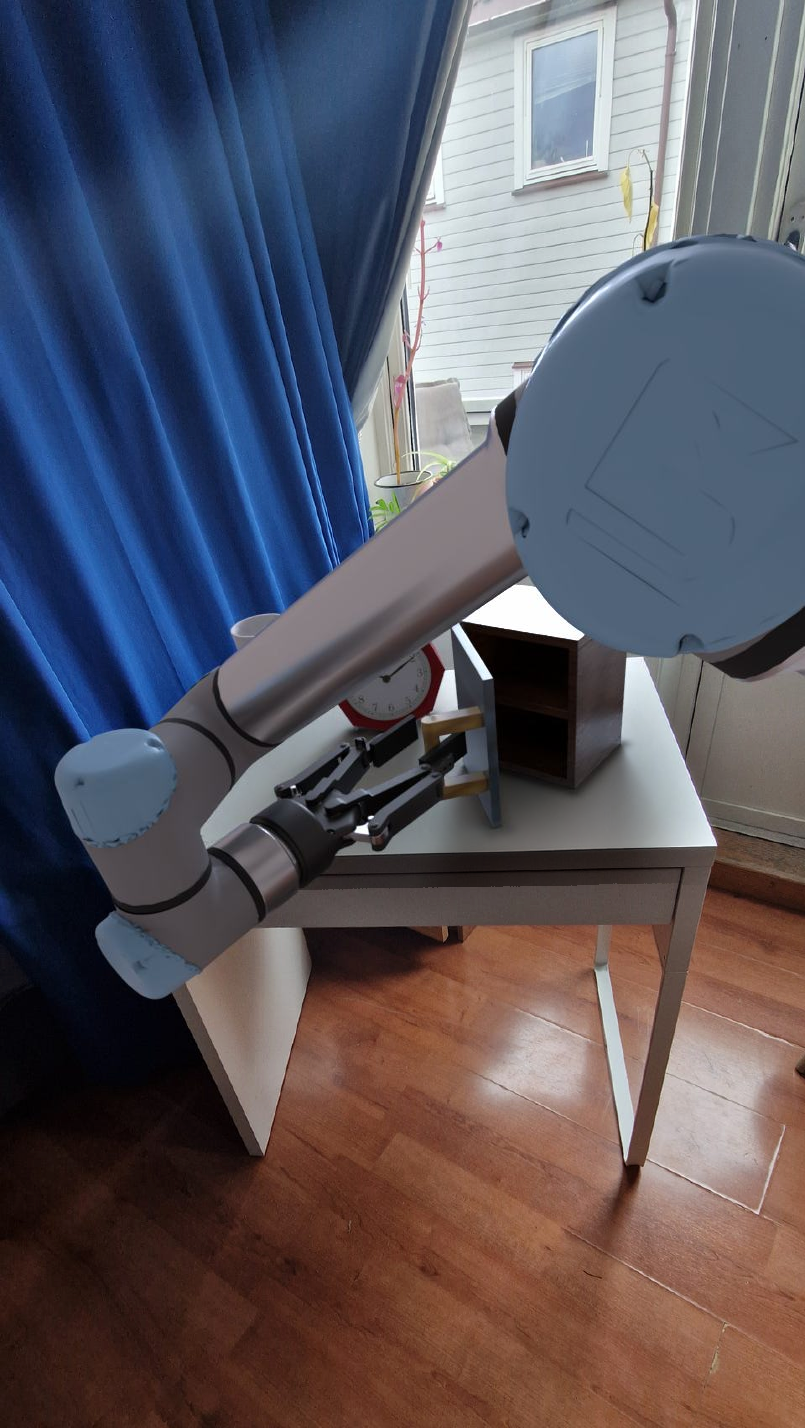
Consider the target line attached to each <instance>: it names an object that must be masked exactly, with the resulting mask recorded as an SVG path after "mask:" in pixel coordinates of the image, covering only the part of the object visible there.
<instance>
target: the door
mask: <svg viewBox="0 0 805 1428" xmlns="http://www.w3.org/2000/svg"><path fill="white" fill-rule="evenodd" d="M449 630H450V640H451V649H452V650H451V651H452V661H453V672H454V682H455V693H456V703H457V709H455V710H452V711H451V710H449V711H446V712H440V713H436V714H432V715H431V714H430V716H426V715H425V716H423V717H422V718H420V725H421V733H422V740H423V747H424V754H426V753H427V752H428V751H430V750H431V749H432V748H434V747H435V746H436V745H438V744H439V743H440V742H441V738H440V737H443V736H449V735H451V734H453V733H458V732H463V731H465V733H466V744H467V754H466V755H465V756H463V757H462V758H461V759H462V763H463V765H464V767H465V769H466V771H467V773H465V774H460V775H456V776H451V777H450V776H449V777H446V778H445V776H443V777H442V781H443V790H444V798H443V799H442V800H441V801H440V802H442V801H448V800H451V799H457V798H461V797H466V796H471V795H476V794H477V796H478V799H479V801H480V803H481V805H482V807H483V810H484V812H485V814H486V816H487V819H488V820H489V823H490V826H491V827H492V828H499V827H502V825H503V824H502V807H501V806H502V805H501V789H500V771H499V770H500V769H499V767H498V752H497V735H496V718H495V700H494V683H493V677H492V676H491V674H490V673H489V671H488V669H487V668H486V666H485V665H484V663H483V661H482V660H481V658H480V657H479V655H478V653H477V652H476V650H475V649H474V647H473V645H472V644H471V642H470V641H469V639H468V637H467V636H466V634H465V633H464V631H463V629H462V628H461V626H460V625H459V623H458V624H456V625H455V626H453V627H452V628H450V629H449Z"/></svg>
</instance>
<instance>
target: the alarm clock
mask: <svg viewBox="0 0 805 1428" xmlns="http://www.w3.org/2000/svg"><path fill="white" fill-rule="evenodd" d="M445 672H446V668H445V665H444V663H443V661H442V659H441V657H440V654H439V652H438V650H437V649H436V647H435V645H434V643H433V641H431V642H430V643H428V644H427V645H425V646H424V647H422V648H421V649H419V650H418V651H416V652H415V653H413V654H412V655H411V656H409V657H408V658H406V659H405V660H403V661H402V662H400V663H399V664H397V665H396V666H394V667H393V668H391V669H390V670H388V671H387V672H385V673H384V674H382V675H381V676H380V677H378V678H377V679H375V680H374V681H372V682H371V683H369V684H368V685H366V686H365V687H363V688H362V689H360V690H359V691H357V692H356V693H354V694H353V695H351V696H350V697H349V698H347V699H346V700H344V701H343V702H341V703H340V704H338V705H337V706H338V707H339V708H340V710H341V712H342V713H343V714H344V716H345V717H346V718H347V720H348V721H349V722H350V724H351V725H352V726H353V729H354V731H355V730H356V731H359V729H360V728H364V729H370V730H376V731H379V732H386V731H387V730H389V729H390V728H392V727H393V726H394V725H396V724H397V723H399V722H400V721H402V720H403V719H404V718H406V717H407V716H409V715H413V716H416V722H417V721H418V720H421V719H422V718H423V717H425V716H431V712H433V711H434V709H435V708H434V707H435V705H436V702H437V698H438V695H439V692H440V688H441V686H442V682H443V678H444V676H445Z"/></svg>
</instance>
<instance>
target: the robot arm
mask: <svg viewBox="0 0 805 1428" xmlns="http://www.w3.org/2000/svg"><path fill="white" fill-rule="evenodd" d="M527 577H528V578H529V579H530V581H531V582H532V584H533V587H536V589H537V590H538V592H539V593H540V594H541V596H542V597H543V598H544V599H545V601H546V602H547V603H548V604H549V605H550V607H551V608H552V609H553V610H554V611H555V612H556V613H557V614H558V615H559V616H561V617H562V618H563V619H564V620H565V621H566V622H568V623H569V624H570V625H571V626H573V627H574V628H575V629H577V630H578V631H580V632H581V633H583V634H584V635H586V636H588V637H590V638H591V639H593V640H595V641H597V642H599V643H601V644H604V645H606V646H608V647H611V648H614V649H616V650H620V651H623V652H627V654H631V655H635V656H636V655H637V656H642V657H647V658H656V659H657V658H658V659H673V658H676V657H678V656H679V655H691V654H692V655H694V656H695V657H697V658H698V659H699V660H701V661H703V662H706V664H709V665H711V666H712V667H714V668H716V669H717V670H718V671H721V672H722V673H724V674H725V675H727V676H728V677H730V678H731V679H733V680H734V681H737V682H740V683H754V682H759V681H764V680H767V679H771V678H773V677H778V676H781V675H785V674H789V673H793V672H795V673H798V674H800V675H801V676H803V677H805V254H803V253H802V252H799V251H797V250H795V249H794V248H792V247H789V246H787V245H785V244H782V243H780V242H778V241H775V240H773V239H767V238H764V237H759V236H754V235H750V234H749V235H748V234H735V233H734V234H733V233H725V232H722V233H710V234H709V233H707V234H696V235H690V236H685V237H684V236H683V237H680V238H678V239H676V240H672V241H668V242H666V243H662V244H659V245H657V246H654V247H650V248H648V249H646V250H644V251H641V252H639V253H637V254H635V255H634V256H631V257H629V258H628V259H626V260H624V261H622V262H621V263H620V264H619V265H618V266H617V267H616V268H614V269H612V270H611V271H609V272H608V273H605V275H603V276H601V277H600V278H599V279H597V280H596V281H595V282H594V283H593V284H591V286H589V287H588V288H587V289H586V290H585V291H584V292H583V294H581V296H580V297H578V298H577V300H576V301H575V302H574V303H573V304H572V305H571V306H570V307H569V308H568V309H567V310H566V311H565V312H564V313H563V315H562V316H561V317H560V318H559V320H558V322H557V324H556V325H555V327H554V329H553V330H552V332H551V335H550V337H549V339H548V341H547V342H546V344H545V345H544V346H543V347H542V349H541V350H540V352H539V353H538V354H537V355H536V357H535V358H534V360H533V364H532V368H531V372H530V374H529V376H527V378H525V379H524V380H523V381H522V382H521V383H520V384H519V385H518V386H517V387H516V388H515V389H514V390H513V391H511V392H510V393H509V394H508V395H507V396H505V397H504V398H503V400H501V401H500V402H499V403H497V404H496V405H495V406H494V407H493V408H492V410H491V411H490V414H489V421H488V426H487V434H486V438H485V439H484V441H483V442H481V444H479V445H478V446H477V447H476V448H475V449H474V450H472V451H471V452H470V453H469V454H468V455H466V457H464V458H463V459H461V460H460V461H459V462H458V463H457V464H456V465H454V467H452V468H451V469H450V470H449V471H447V472H446V473H445V474H444V475H443V476H442V477H441V478H439V479H438V480H437V481H435V482H434V483H433V484H432V485H431V486H429V488H427V489H426V490H425V491H424V492H423V493H421V494H420V495H419V496H418V497H417V498H416V499H415V500H413V501H412V502H410V504H409V505H407V506H406V507H405V508H404V509H403V510H402V511H400V512H399V513H398V514H397V515H396V516H394V517H393V518H392V519H391V520H390V521H388V522H387V523H386V524H385V525H384V526H383V527H381V529H379V530H378V531H377V532H376V533H374V534H373V535H372V536H371V537H369V539H367V540H366V541H365V542H364V543H362V544H361V545H360V546H359V547H357V549H355V550H354V551H353V552H352V553H351V554H349V555H348V556H347V557H346V558H345V559H343V561H342V562H340V563H339V564H338V565H337V566H335V567H334V568H333V569H332V570H331V571H329V572H328V573H327V574H326V575H325V576H323V578H322V579H320V580H319V581H317V582H316V584H314V585H313V586H312V587H311V588H309V589H308V590H307V591H306V592H305V593H303V595H300V597H299V598H298V599H297V600H295V601H294V602H293V603H292V604H290V606H288V607H287V608H285V609H284V610H283V612H281V613H279V614H280V615H279V616H278V617H277V618H275V619H274V620H273V621H272V622H271V623H270V624H268V625H267V626H266V627H265V628H264V629H262V630H261V631H260V632H259V633H258V634H257V635H255V636H254V637H253V638H252V639H251V640H249V641H248V642H247V643H246V644H245V645H244V646H242V647H241V648H240V649H239V650H236V651H235V652H234V653H233V654H232V655H230V656H229V657H228V658H227V659H226V660H225V661H224V662H223V663H222V664H221V665H219V666H216V667H215V668H213V669H212V670H211V671H208V672H206V673H205V674H204V675H202V676H201V677H200V678H199V679H198V680H197V681H196V682H195V683H193V685H192V686H191V687H190V688H189V689H188V690H187V692H186V693H185V695H184V696H182V697H181V699H179V701H178V702H176V703H175V704H174V705H173V706H172V708H171V709H170V710H168V711H167V712H166V714H164V716H163V717H162V718H161V719H160V720H159V721H158V722H157V723H155V724H154V725H152V727H151V728H149V729H148V730H145V729H140V728H121V729H115V730H110V731H106V732H103V733H99V734H97V735H94V736H92V737H91V739H90V740H88V741H86V742H84V743H79V744H77V745H75V746H74V747H72V748H71V749H69V750H68V751H67V752H66V753H65V754H64V755H63V757H61V759H60V761H59V762H58V764H57V766H56V768H55V772H54V784H55V788H56V791H57V793H58V795H59V797H60V800H61V804H62V806H63V808H64V810H65V813H66V815H67V817H68V819H69V824H70V826H71V828H72V830H73V832H74V834H75V836H76V837H77V838H79V839H78V840H80V841H81V843H82V845H83V847H84V848H85V850H86V851H87V853H88V855H89V857H90V859H91V860H92V862H93V863H94V866H95V867H96V869H97V870H98V872H99V874H100V875H101V877H102V879H103V881H104V883H105V884H106V886H107V888H108V890H109V892H110V896H111V899H112V902H113V903H112V904H113V905H114V907H115V909H116V910H113V911H112V912H109V914H108V916H107V917H105V918H104V919H103V920H102V921H101V922H99V924H97V926H96V928H95V931H94V933H95V938H96V941H97V945H98V947H99V949H100V951H101V953H102V954H103V956H104V957H105V959H106V960H107V962H108V963H109V965H110V966H111V967H112V968H113V969H114V971H115V972H116V973H117V974H118V975H119V977H121V979H122V980H123V981H124V982H125V983H126V984H127V985H128V986H129V987H130V988H131V989H133V991H135V992H136V993H138V994H139V995H140V996H143V997H145V998H147V999H151V1000H160V999H163V998H165V997H167V996H168V995H170V994H171V993H173V992H174V991H176V990H178V989H179V988H180V987H181V986H183V985H184V984H187V982H189V981H190V980H192V979H193V978H194V977H195V976H198V975H201V974H202V972H203V970H205V969H206V968H207V967H208V966H209V965H211V964H212V963H213V962H215V960H217V958H219V957H220V956H221V955H222V954H223V953H225V951H227V950H228V949H230V947H232V946H233V945H234V944H236V943H237V942H238V941H239V940H240V939H241V938H243V937H244V936H246V934H248V933H249V932H251V930H252V929H254V928H255V927H257V925H259V924H261V923H262V922H263V921H264V920H265V919H266V918H267V917H269V916H270V915H271V914H273V913H274V912H275V911H276V910H277V909H279V908H280V907H281V906H283V905H284V904H286V902H288V901H289V900H290V899H291V898H293V897H294V896H295V895H296V894H298V891H299V889H304V888H306V887H307V886H308V885H310V884H311V883H312V882H313V881H315V880H316V879H317V878H318V877H320V876H321V875H322V874H324V873H325V872H326V871H327V870H328V869H329V868H331V866H332V864H333V862H334V859H335V857H336V855H337V854H338V853H339V851H341V850H343V849H345V848H348V847H351V846H353V845H354V844H356V843H357V842H358V843H359V842H360V843H366V844H370V846H371V850H372V851H373V852H375V853H380V852H383V851H384V850H385V849H386V848H387V846H388V845H389V843H390V842H391V840H392V839H393V837H395V836H396V835H397V834H399V833H400V832H401V831H402V830H404V829H405V828H407V827H408V826H409V825H411V824H412V823H413V822H415V821H416V820H417V819H418V818H420V817H421V816H422V815H424V814H426V812H428V811H429V810H430V809H432V808H433V807H434V806H436V805H438V804H439V803H440V802H442V801H441V800H442V799H443V798H444V790H443V781H442V777H443V776H444V777H445V776H446V775H447V774H449V773H450V772H451V771H453V770H454V767H455V764H456V763H458V761H460V760H461V759H463V758H462V757H463V756H465V755H466V754H467V744H466V733H465V731H463V732H458V733H453V734H448V735H447V737H445V738H444V739H443V740H440V743H439V744H438V745H436V746H435V747H434V748H432V749H431V750H430V751H428V752H427V753H426V754H425V753H424V754H423V755H421V756H420V757H419V758H418V759H417V760H418V766H415V767H413V768H411V769H409V770H407V771H405V772H402V773H401V774H398V775H396V776H394V777H392V778H390V779H388V780H386V781H384V782H382V783H379V784H378V785H375V786H373V787H371V788H369V789H366V790H365V789H364V788H359V789H356V790H354V788H355V787H356V786H357V785H358V783H360V781H361V779H362V778H363V777H364V775H365V774H367V772H368V771H369V769H370V768H371V763H372V767H373V768H377V769H380V768H381V767H383V766H384V765H385V764H387V763H388V762H389V761H391V760H392V759H393V758H395V757H396V756H398V755H399V754H400V753H402V752H403V751H404V750H405V749H407V748H408V747H409V746H411V745H413V744H414V743H415V742H416V741H418V740H419V731H418V724H417V721H416V716H413V715H409V716H407V717H406V718H404V719H403V720H402V721H400V722H399V723H397V724H396V725H394V726H393V727H392V728H390V729H389V730H387V731H383V732H382V733H379V734H377V735H376V736H375V737H372V739H370V740H369V741H366V738H365V737H364V736H357V737H355V738H353V742H354V746H350V743H349V742H345V741H344V742H341V743H339V744H337V745H336V746H335V747H333V748H332V749H330V750H329V751H328V752H326V753H325V754H324V755H322V756H321V757H320V758H318V759H317V760H315V761H314V762H313V763H311V764H310V765H308V766H307V767H306V768H304V769H303V770H302V771H300V772H299V773H298V774H296V775H295V776H293V777H292V778H289V779H288V780H285V781H283V782H280V783H279V784H276V785H275V786H274V787H273V793H274V795H275V798H276V800H275V801H274V802H273V803H271V804H270V805H268V806H267V807H265V808H264V809H262V810H261V811H259V812H258V813H256V814H255V815H254V816H252V817H251V818H250V819H249V821H248V822H243V823H241V824H239V825H238V826H236V827H235V828H234V829H232V830H231V831H229V832H228V833H227V834H226V835H224V836H223V837H221V838H219V839H218V840H217V841H216V842H214V843H213V844H211V845H210V846H208V847H206V844H205V842H204V839H203V837H202V836H203V835H202V833H201V832H202V831H201V830H202V828H203V826H204V825H205V824H206V823H207V822H208V820H209V819H210V817H211V816H212V815H213V813H214V812H215V811H216V810H217V809H218V807H219V806H220V805H221V804H222V803H223V801H224V800H225V798H226V797H227V796H228V795H229V794H230V792H231V791H232V789H233V788H234V786H235V785H236V784H237V783H238V781H239V780H240V779H241V778H242V777H243V775H244V774H245V773H246V772H247V771H248V769H249V768H250V767H252V765H254V764H255V763H256V762H257V761H259V760H260V759H262V758H263V757H264V756H266V755H267V754H269V753H270V752H272V751H273V750H275V749H276V748H278V747H279V746H280V745H282V744H283V743H284V742H285V741H286V740H288V739H290V738H292V736H295V734H297V733H299V732H300V731H301V730H303V729H304V728H306V727H307V726H309V725H310V724H312V723H313V722H315V721H316V720H318V719H319V718H321V717H323V716H324V715H325V714H326V713H328V712H330V711H331V710H333V709H334V708H335V707H337V706H338V704H340V703H341V702H343V701H344V700H346V699H347V698H349V697H350V696H351V695H353V694H354V693H356V692H357V691H359V690H360V689H362V688H363V687H365V686H366V685H368V684H369V683H371V682H372V681H374V680H375V679H377V678H378V677H380V676H381V675H382V674H384V673H385V672H387V671H388V670H390V669H391V668H393V667H394V666H396V665H397V664H399V663H400V662H402V661H403V660H405V659H406V658H408V657H409V656H411V655H412V654H413V653H415V652H416V651H418V650H419V649H421V648H422V647H424V646H425V645H427V644H428V643H430V642H431V641H432V642H433V641H434V640H436V639H437V638H439V637H441V635H443V634H445V633H447V631H449V630H450V628H452V627H453V626H455V625H457V624H459V622H461V621H462V620H464V619H465V618H467V617H468V616H470V615H471V614H473V613H474V612H475V611H477V610H478V609H480V608H481V607H483V606H484V605H486V604H487V603H489V602H490V601H492V600H493V599H495V598H496V597H498V596H499V595H501V594H502V593H504V592H505V591H506V590H508V589H509V588H511V587H513V586H514V585H518V583H520V582H522V581H523V580H524V579H525V578H527ZM339 759H340V760H339ZM353 790H354V791H353Z"/></svg>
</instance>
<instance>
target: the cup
mask: <svg viewBox="0 0 805 1428" xmlns="http://www.w3.org/2000/svg"><path fill="white" fill-rule="evenodd" d="M280 614H281V613H263V614H257V615H253V616H250V617H246V618H244V619H242V620H240V621H238V622H236V623H235V624H233V625H232V626H231V628H230V635H231V638H232V640H233V642H234V645H235V648H236V651H238V650H239V649H240V648H241V647H242V646H244V645H245V644H246V643H247V642H248V641H249V640H251V639H252V638H253V637H254V636H255V635H257V634H258V633H259V632H260V631H261V630H262V629H264V628H265V627H266V626H267V625H268V624H270V623H271V622H272V621H273V620H274V619H275V618H277V617H278V616H279V615H280Z"/></svg>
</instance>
